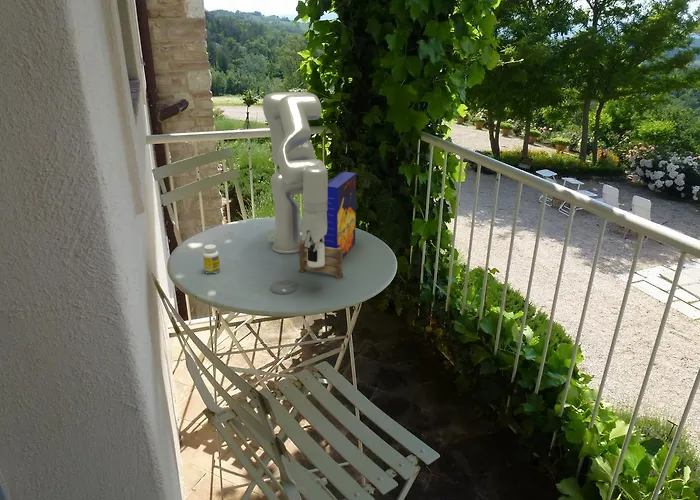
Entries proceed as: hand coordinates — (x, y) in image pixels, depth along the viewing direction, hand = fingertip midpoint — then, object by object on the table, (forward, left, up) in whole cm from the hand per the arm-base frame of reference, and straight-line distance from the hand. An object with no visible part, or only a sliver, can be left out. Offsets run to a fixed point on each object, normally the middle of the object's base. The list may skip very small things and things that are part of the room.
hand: (315, 257), depth 164 cm
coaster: (-10, -4, -12) cm, 16 cm away
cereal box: (-4, +31, -12) cm, 34 cm away
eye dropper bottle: (0, 0, -3) cm, 3 cm away
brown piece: (-3, +11, -12) cm, 17 cm away
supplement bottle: (-40, -2, -12) cm, 42 cm away
